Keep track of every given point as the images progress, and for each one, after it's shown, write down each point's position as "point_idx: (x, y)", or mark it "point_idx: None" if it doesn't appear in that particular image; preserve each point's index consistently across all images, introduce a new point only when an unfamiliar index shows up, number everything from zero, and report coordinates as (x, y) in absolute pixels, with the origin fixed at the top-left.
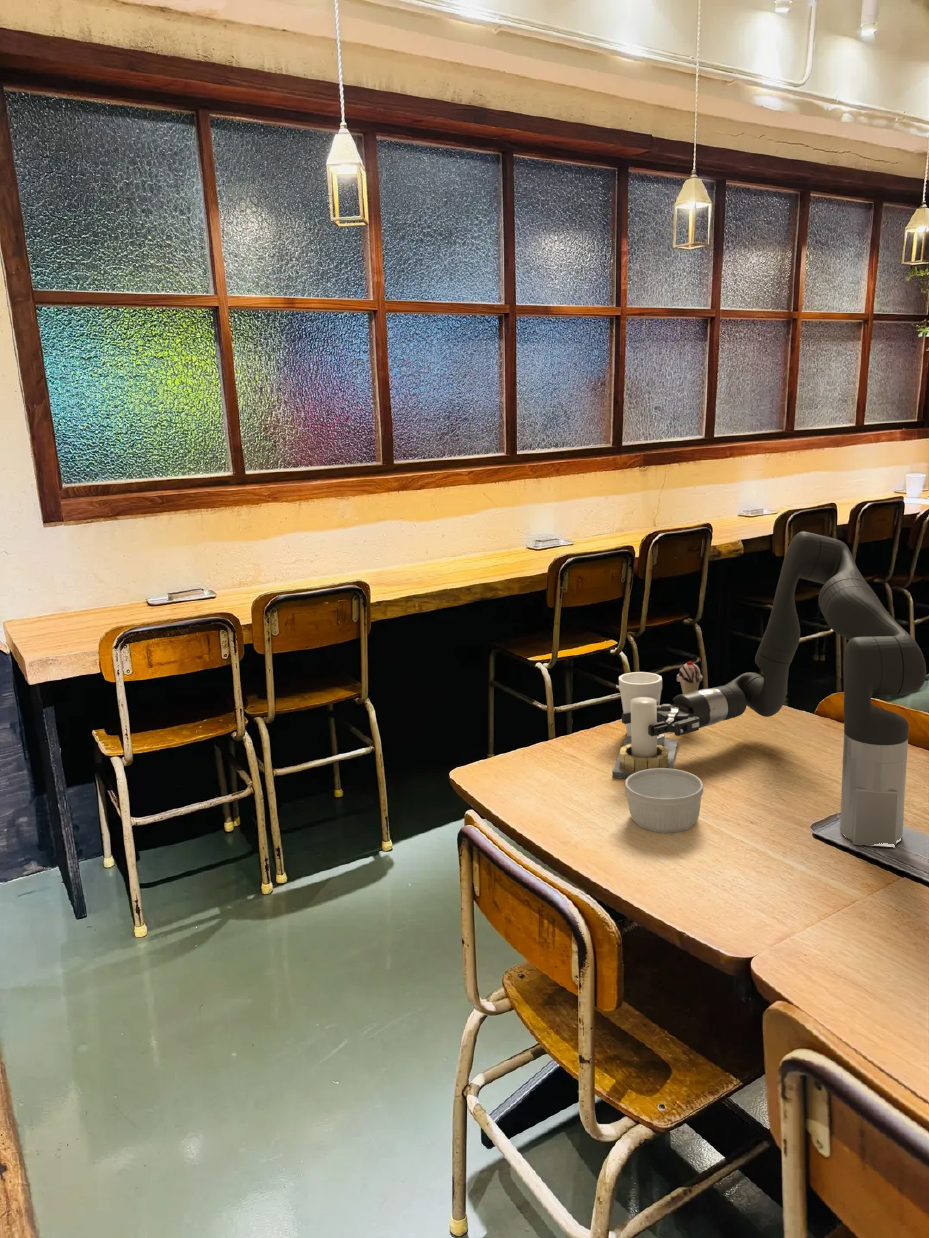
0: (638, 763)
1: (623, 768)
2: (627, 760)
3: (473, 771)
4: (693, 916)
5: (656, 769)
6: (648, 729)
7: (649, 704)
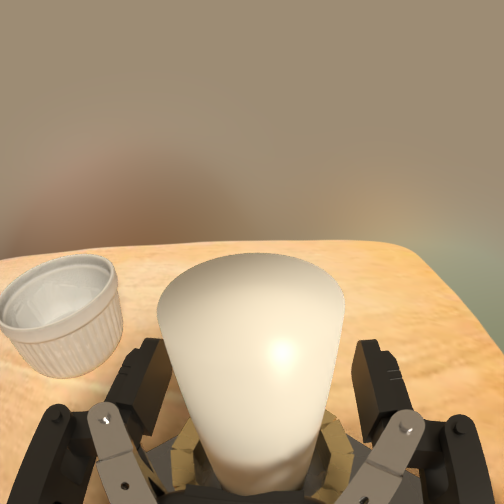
0: None
1: None
2: None
3: (402, 254)
4: (17, 264)
5: (79, 310)
6: (165, 348)
7: (171, 288)
